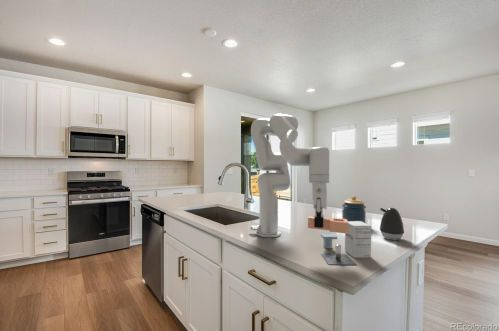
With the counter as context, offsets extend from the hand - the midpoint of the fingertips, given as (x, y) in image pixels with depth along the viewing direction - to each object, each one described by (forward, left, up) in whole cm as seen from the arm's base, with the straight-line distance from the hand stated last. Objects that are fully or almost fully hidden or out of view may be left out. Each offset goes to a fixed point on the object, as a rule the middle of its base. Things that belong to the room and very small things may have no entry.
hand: (318, 225), depth 95 cm
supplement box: (+17, +4, -13) cm, 21 cm away
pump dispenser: (+42, +26, -13) cm, 51 cm away
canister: (+33, +50, -13) cm, 61 cm away
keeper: (+7, +10, -12) cm, 17 cm away
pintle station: (+7, -2, -12) cm, 14 cm away
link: (+3, -1, -1) cm, 3 cm away
